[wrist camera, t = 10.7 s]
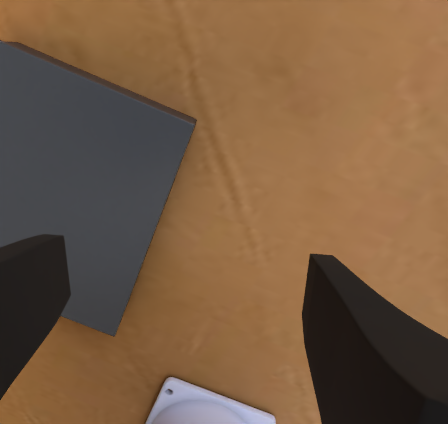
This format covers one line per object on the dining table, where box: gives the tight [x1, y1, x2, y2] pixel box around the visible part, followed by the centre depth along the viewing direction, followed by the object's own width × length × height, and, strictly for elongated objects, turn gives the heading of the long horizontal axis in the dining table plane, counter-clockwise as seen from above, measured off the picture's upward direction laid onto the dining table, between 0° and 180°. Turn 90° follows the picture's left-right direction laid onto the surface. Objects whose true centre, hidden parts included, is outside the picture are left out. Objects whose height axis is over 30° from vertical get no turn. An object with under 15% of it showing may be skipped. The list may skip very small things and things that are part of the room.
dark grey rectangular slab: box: [0, 40, 197, 336], centre depth 21 cm, size 13×10×2 cm
